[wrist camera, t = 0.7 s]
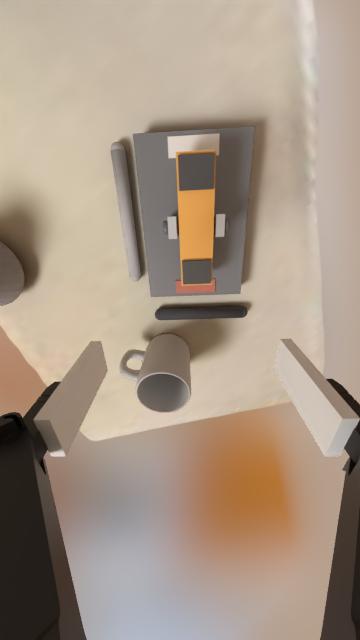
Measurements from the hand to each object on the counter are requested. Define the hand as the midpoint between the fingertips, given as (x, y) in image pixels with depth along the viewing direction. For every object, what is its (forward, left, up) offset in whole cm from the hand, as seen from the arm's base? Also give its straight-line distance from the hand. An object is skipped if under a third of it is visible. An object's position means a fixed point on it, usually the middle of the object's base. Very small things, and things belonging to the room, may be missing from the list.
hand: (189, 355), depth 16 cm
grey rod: (-9, -8, -21) cm, 25 cm away
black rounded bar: (+6, +2, -21) cm, 22 cm away
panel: (-8, +1, -21) cm, 23 cm away
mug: (+14, -6, -22) cm, 26 cm away
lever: (-8, +1, -16) cm, 18 cm away
